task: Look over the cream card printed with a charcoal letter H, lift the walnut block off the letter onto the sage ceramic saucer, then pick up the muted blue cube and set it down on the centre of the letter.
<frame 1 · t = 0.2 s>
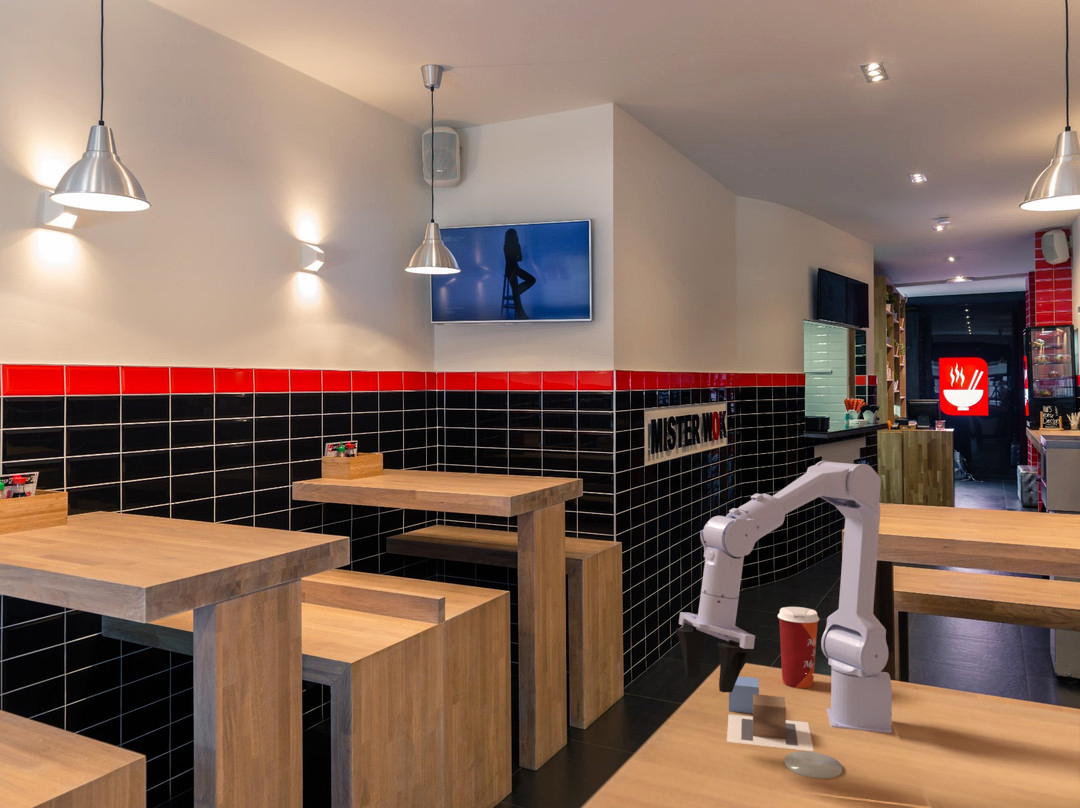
hand: (708, 683, 125), 10 cm above the table, tool pointing down, fingers open, 7 cm apart
walnut block: (768, 731, 132), on the table, touching letter card
paper cup: (797, 684, 157), on the table
blue cube: (743, 709, 143), on the table
letter card: (768, 733, 132), on the table
saucer: (813, 768, 120), on the table
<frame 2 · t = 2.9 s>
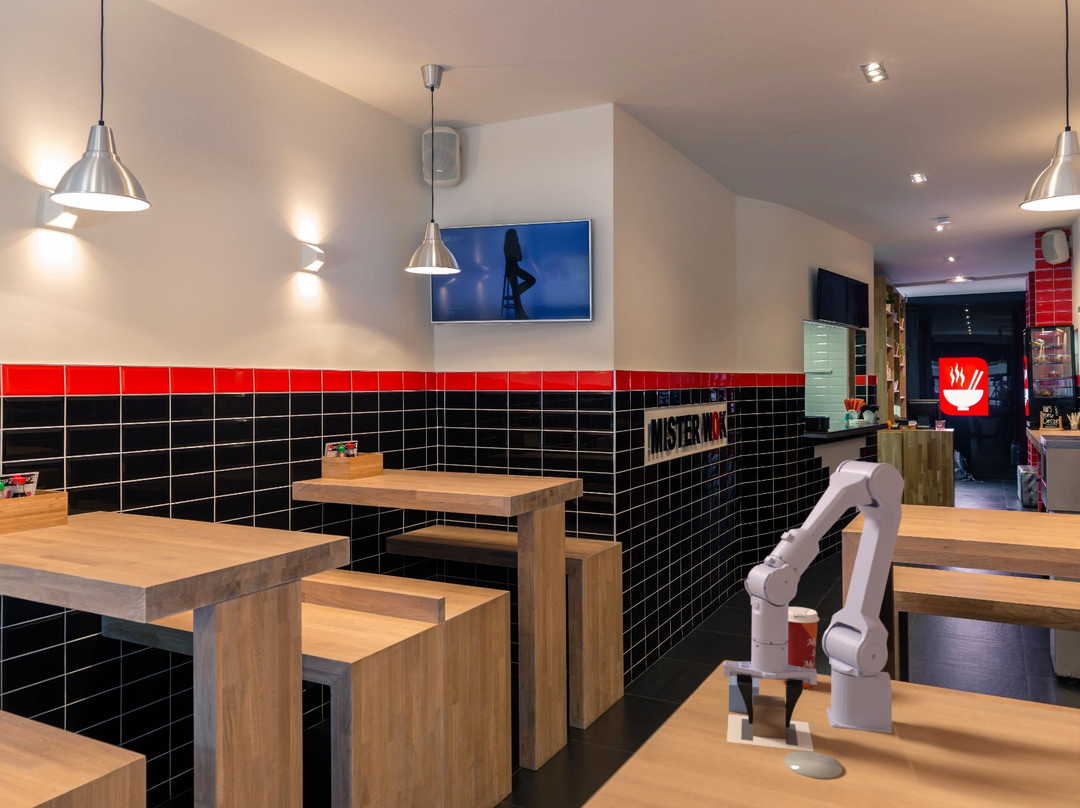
hand: (768, 723, 132), 2 cm above the table, tool pointing down, fingers closed on walnut block, 5 cm apart
walnut block: (768, 731, 132), on the table, touching gripper, letter card
everything else where it was.
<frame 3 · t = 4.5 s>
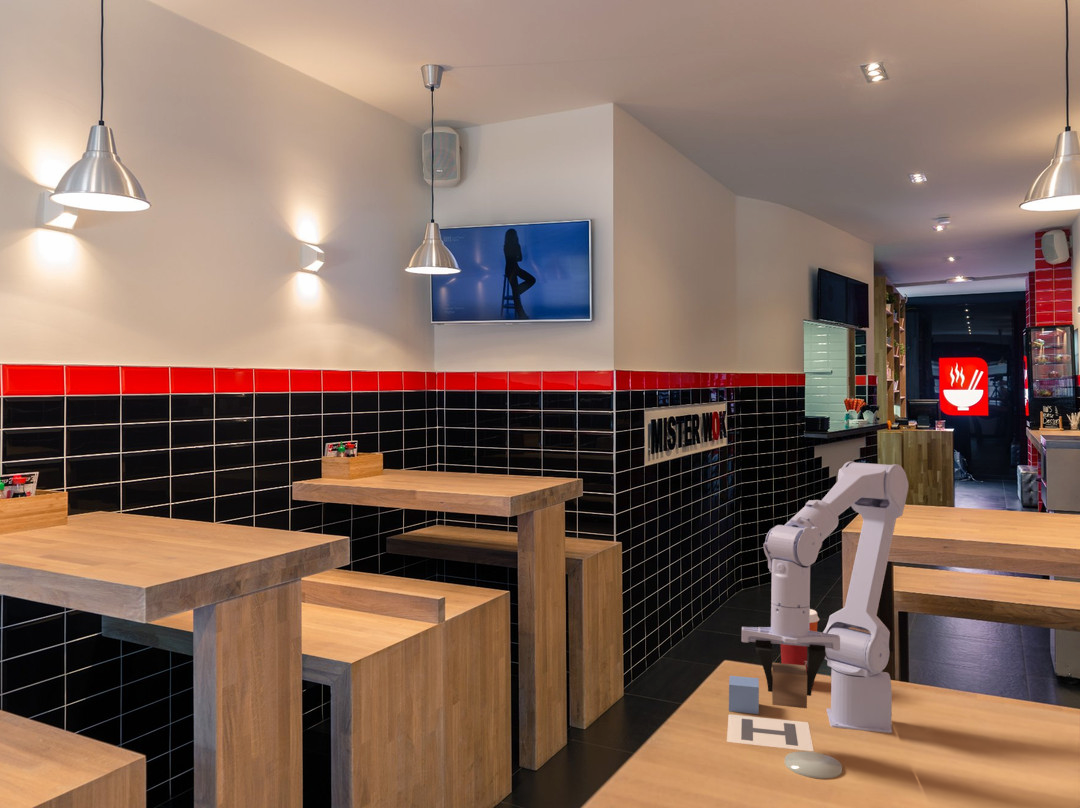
hand: (789, 691, 126), 9 cm above the table, tool pointing down, fingers closed on walnut block, 5 cm apart
walnut block: (788, 701, 126), point 7 cm above the table, touching gripper
everything else where it was.
when the fingers open (3 cm above the table, at t = 6.5 s): walnut block drops 1 cm, resting on saucer.
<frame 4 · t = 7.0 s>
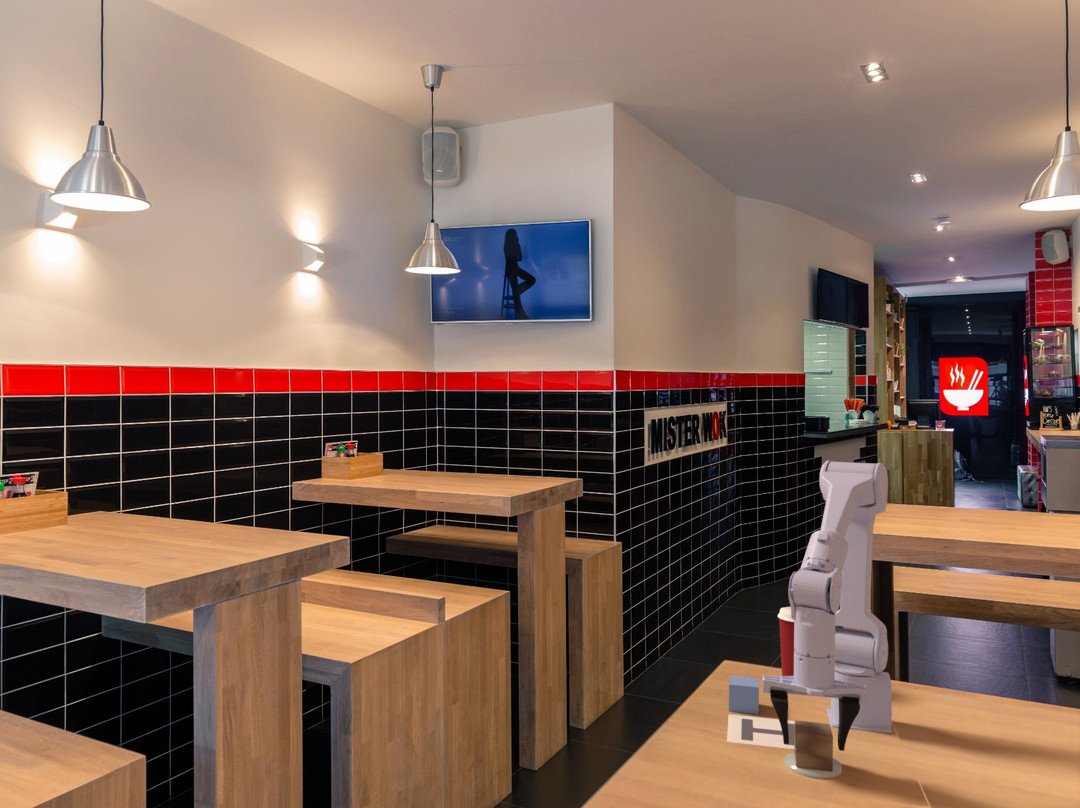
hand: (813, 745, 120), 3 cm above the table, tool pointing down, fingers open, 7 cm apart
walnut block: (812, 762, 120), point 1 cm above the table, touching saucer
everything else where it was.
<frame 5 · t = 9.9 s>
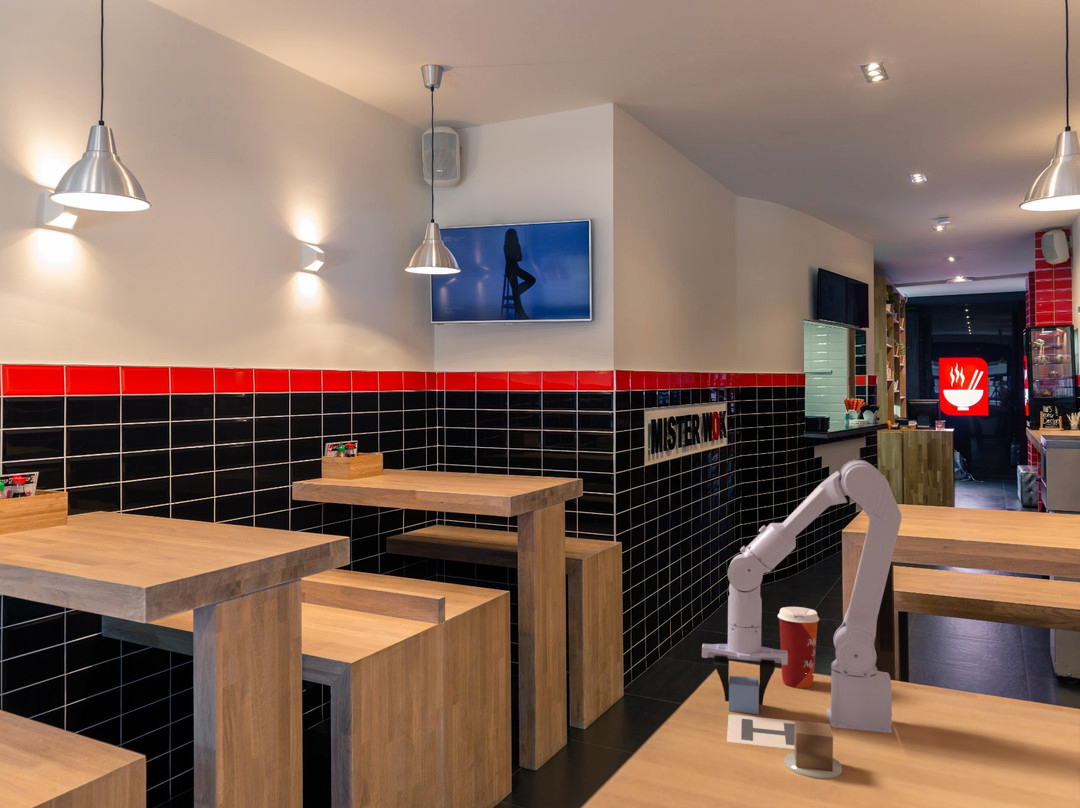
hand: (743, 701, 143), 1 cm above the table, tool pointing down, fingers closed on blue cube, 5 cm apart
blue cube: (743, 709, 143), on the table, touching gripper
everything else where it was.
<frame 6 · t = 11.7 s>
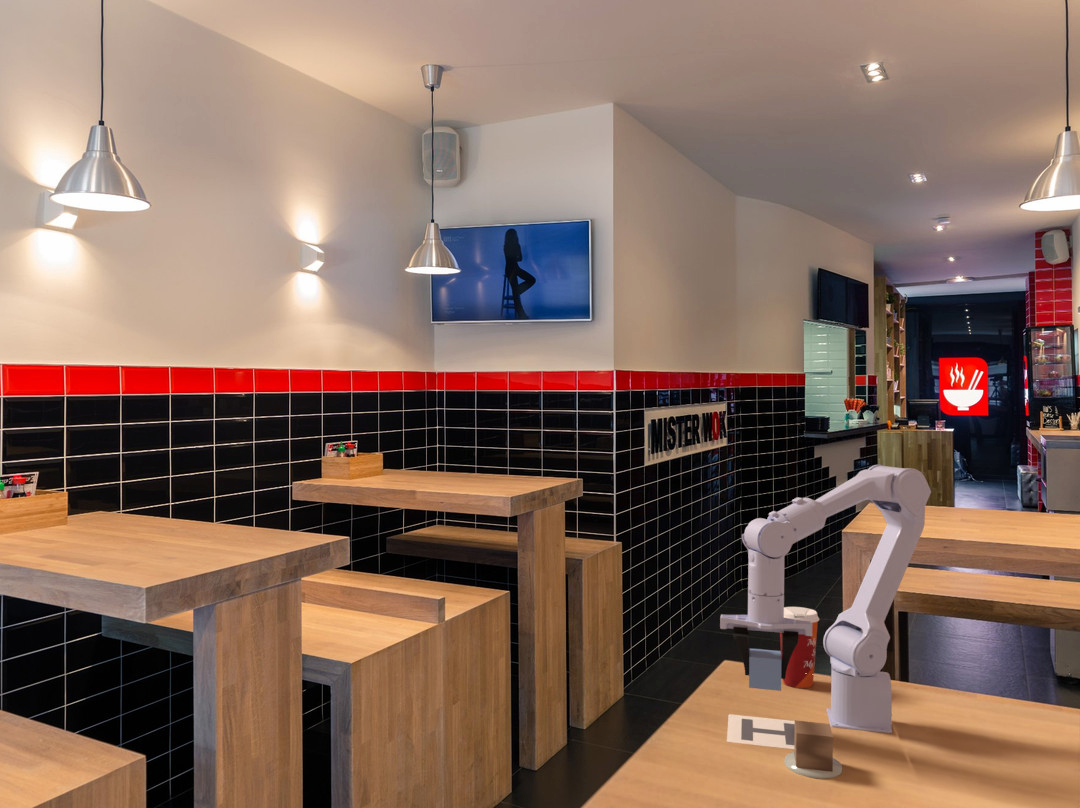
hand: (765, 675, 134), 9 cm above the table, tool pointing down, fingers closed on blue cube, 5 cm apart
blue cube: (764, 684, 134), point 7 cm above the table, touching gripper
everything else where it was.
when the fingers open (3 cm above the table, at t = 13.5 s): blue cube stays where it is, resting on letter card.
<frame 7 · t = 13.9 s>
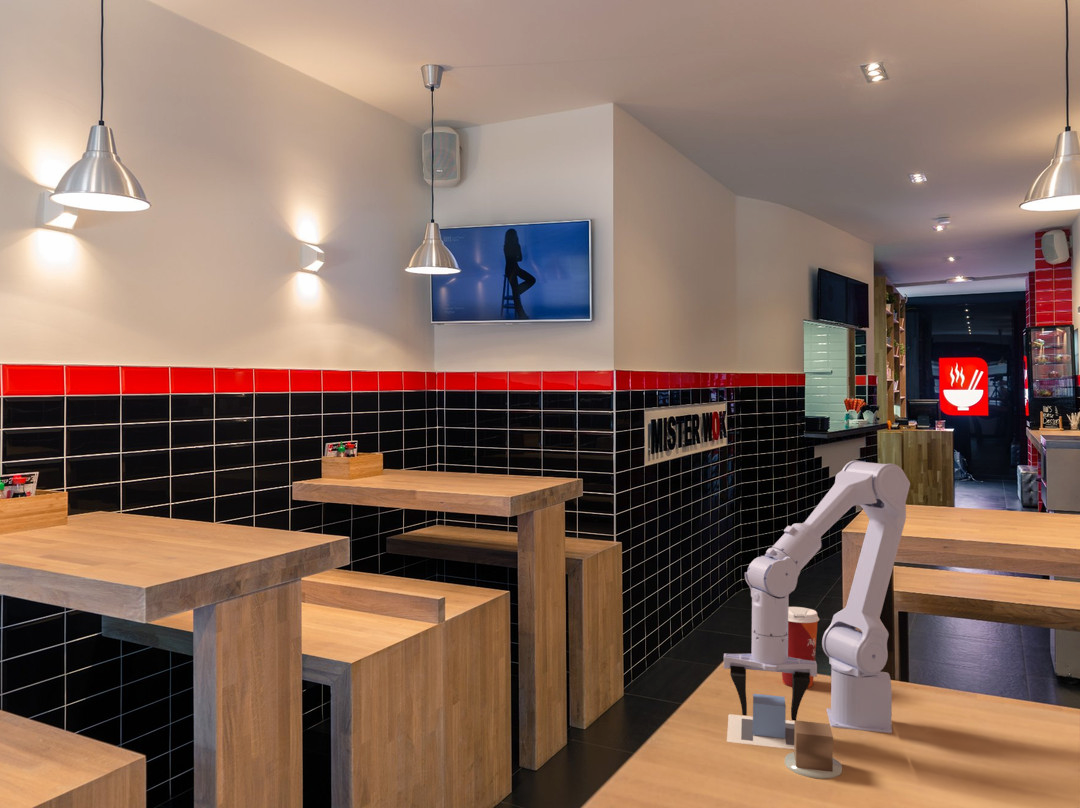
hand: (768, 715, 132), 3 cm above the table, tool pointing down, fingers open, 7 cm apart
blue cube: (768, 731, 133), resting on letter card
everything else where it was.
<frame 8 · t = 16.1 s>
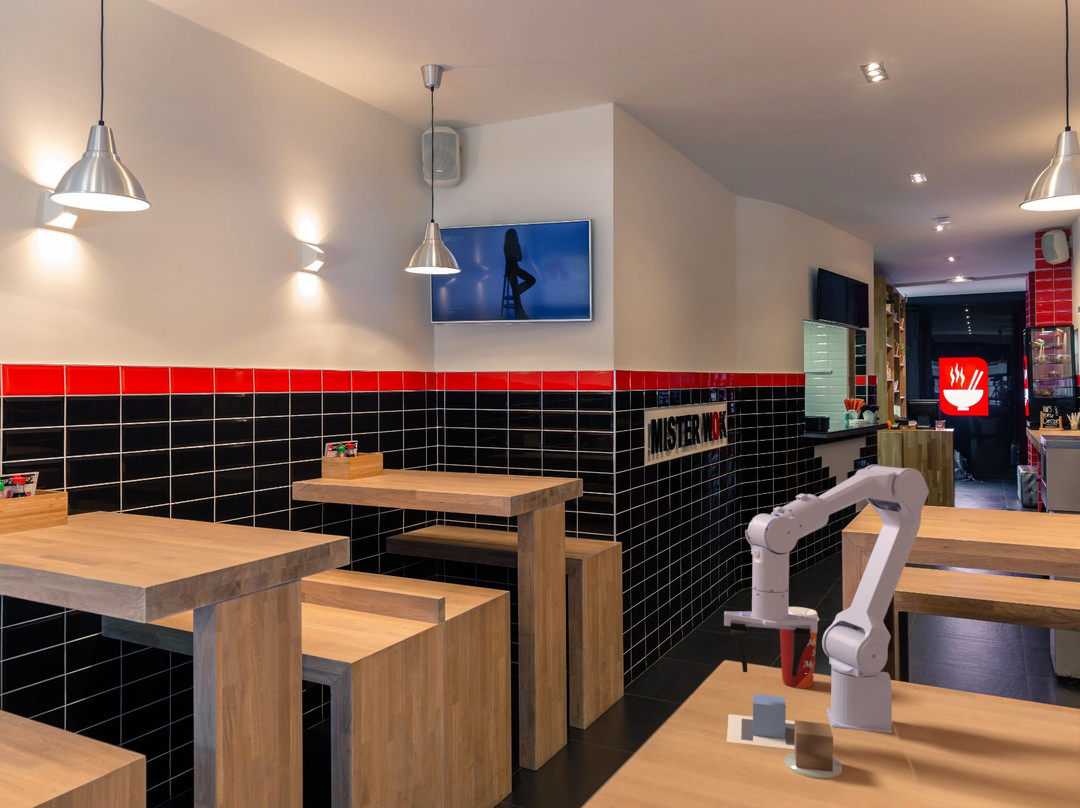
hand: (769, 672, 132), 10 cm above the table, tool pointing down, fingers open, 7 cm apart
nothing on the table moved.
at the end: blue cube 0.1 cm off-centre on the letter card, point 0.4 cm above the letter card's base; walnut block 0.1 cm off-centre on the saucer, point 0.8 cm above the saucer's base; blue cube tilted 1° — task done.
